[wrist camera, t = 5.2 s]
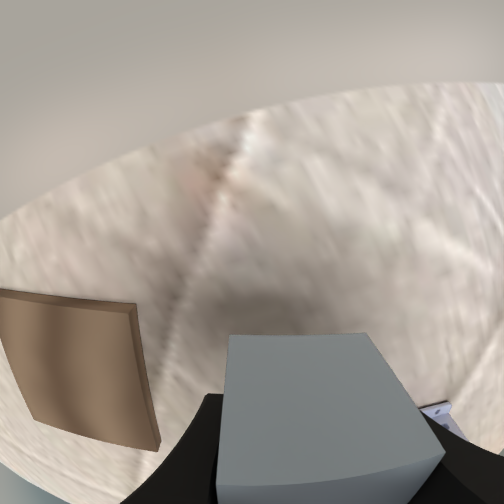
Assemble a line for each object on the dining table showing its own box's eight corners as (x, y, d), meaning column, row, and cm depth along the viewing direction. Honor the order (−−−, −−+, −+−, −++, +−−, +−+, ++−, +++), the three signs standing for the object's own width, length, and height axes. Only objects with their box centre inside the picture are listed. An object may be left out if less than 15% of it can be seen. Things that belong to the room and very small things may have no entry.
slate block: (365, 332, 9) (445, 452, 4) (341, 425, 10) (378, 534, 5) (229, 334, 9) (215, 484, 4) (230, 429, 10) (224, 551, 5)
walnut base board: (135, 304, 15) (128, 313, 14) (161, 440, 18) (157, 452, 17) (-2, 288, 15) (-12, 294, 14) (40, 411, 17) (34, 419, 16)
